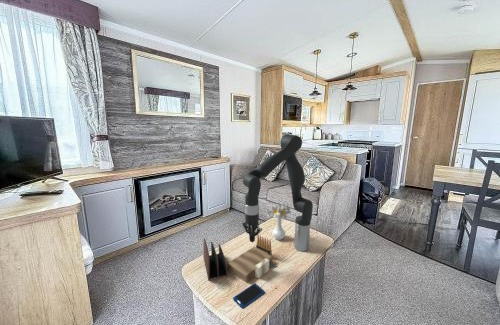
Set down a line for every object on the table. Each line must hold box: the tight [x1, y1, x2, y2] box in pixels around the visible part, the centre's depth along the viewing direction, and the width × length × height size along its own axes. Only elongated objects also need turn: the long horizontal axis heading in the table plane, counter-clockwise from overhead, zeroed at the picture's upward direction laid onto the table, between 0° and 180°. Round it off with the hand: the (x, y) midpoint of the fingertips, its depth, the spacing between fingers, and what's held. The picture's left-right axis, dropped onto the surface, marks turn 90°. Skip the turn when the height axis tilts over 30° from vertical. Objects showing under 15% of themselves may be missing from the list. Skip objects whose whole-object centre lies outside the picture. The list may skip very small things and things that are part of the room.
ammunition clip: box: [255, 234, 273, 257], centre depth 124 cm, size 11×2×12 cm, turn 51°
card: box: [254, 258, 270, 279], centre depth 108 cm, size 9×6×2 cm
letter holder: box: [203, 238, 228, 281], centre depth 113 cm, size 10×20×14 cm, turn 20°
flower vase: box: [264, 202, 292, 241], centre depth 142 cm, size 13×18×25 cm
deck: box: [226, 246, 273, 283], centre depth 114 cm, size 22×14×4 cm, turn 137°
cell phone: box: [232, 283, 266, 309], centre depth 94 cm, size 7×14×1 cm, turn 131°
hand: (252, 241), depth 112 cm, fingers closed
